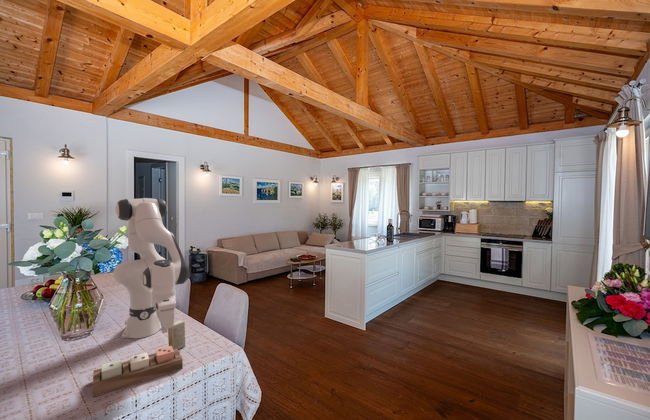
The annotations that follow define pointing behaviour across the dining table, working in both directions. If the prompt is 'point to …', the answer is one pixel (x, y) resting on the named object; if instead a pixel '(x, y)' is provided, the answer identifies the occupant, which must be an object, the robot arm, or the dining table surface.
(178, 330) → the skincare box
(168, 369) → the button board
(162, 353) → the three-pip tile
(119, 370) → the tile
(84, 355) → the dining table surface
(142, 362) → the tile
